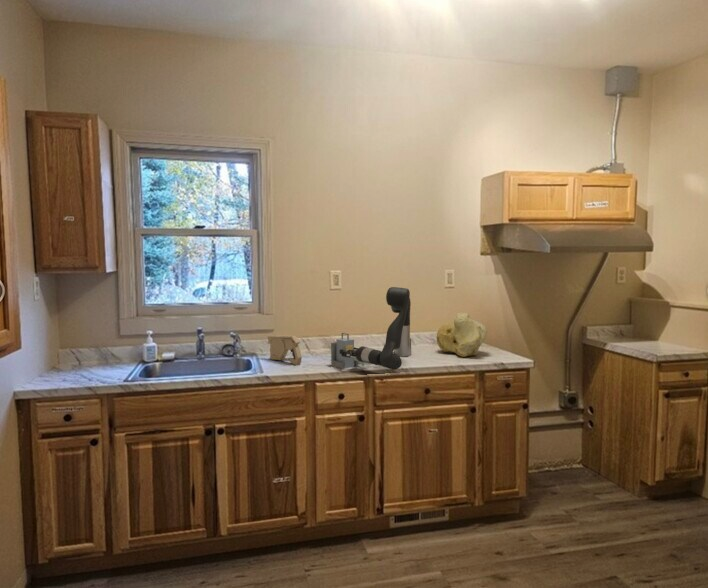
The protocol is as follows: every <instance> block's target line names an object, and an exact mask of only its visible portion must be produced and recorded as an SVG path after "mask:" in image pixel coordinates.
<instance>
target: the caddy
mask: <svg viewBox="0 0 708 588" xmlns="http://www.w3.org/2000/svg"><path fill="white" fill-rule="evenodd" d="M344 335H345V336H346V337H344ZM349 337H350V335H349V333H345V332H341V338H336V341H335V342H336V358H337V361H339V362H343V363H344V369H348V368H349V369H350V368H353V367H355V366H354V357H350V358H348V357H343V356H342V354H340V349H342V350H349V349H350V350H354V347H355V339H352V338H349ZM350 353H351V351H350Z"/></svg>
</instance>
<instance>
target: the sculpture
mask: <svg viewBox="0 0 708 588" xmlns="http://www.w3.org/2000/svg"><path fill="white" fill-rule="evenodd" d="M486 338H487V328H486V326H485V325H484V324H482V323H481V322H479V320H478V321H477V320H475V319H472V318H471V316H470V314H469V313H466V312H463V311H462V312H459V311H458V312H457V313H456V314H455V317H454V320H453V322H448V323H444V324H442V325H441V326H440V327H439V329H438V330H437V333H436V343H437V345H438V347H439V349H440V350H441V351H442V352H444V353H448V352H451V353H455V354H456V355H457V356H458V357H459V356H460V357H461V358H465V357H470V356H476V355H477V353H478V352H479V349H480V347H481V346H482V344H483V342H484V341H485V339H486Z"/></svg>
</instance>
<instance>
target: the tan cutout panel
mask: <svg viewBox="0 0 708 588" xmlns="http://www.w3.org/2000/svg"><path fill="white" fill-rule="evenodd" d="M267 343H268V344H269V345H270V348H269V354H270V355H269V360H271V361H284V362H285V361H286V362H290V364H293V365H295V366H300V365H301V363H302V359H303V355H302V353H301V349H300V346H299V344H301V341H300V340H299V339H298V338H297V336H296V335H268V336H267ZM289 351H290V353H291V356H292V357H286V356H287V354H288V352H289Z"/></svg>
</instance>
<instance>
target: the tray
mask: <svg viewBox="0 0 708 588" xmlns="http://www.w3.org/2000/svg"><path fill="white" fill-rule="evenodd" d="M354 360H357V358H355V357H354ZM358 365H362V366H368V365H370V364H368V363H364V362H360V361H358Z"/></svg>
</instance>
